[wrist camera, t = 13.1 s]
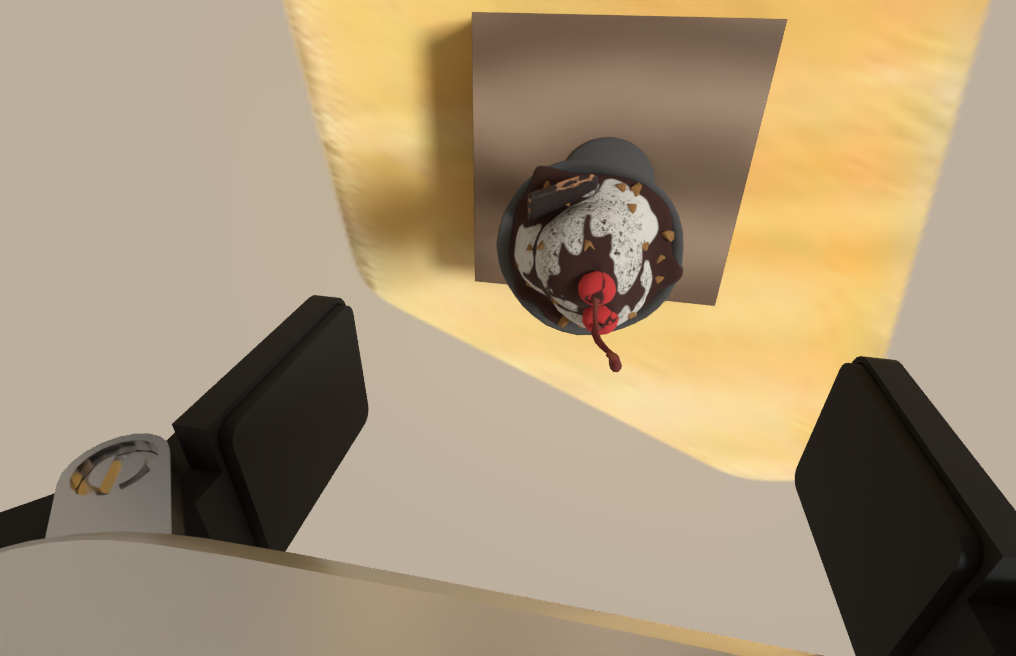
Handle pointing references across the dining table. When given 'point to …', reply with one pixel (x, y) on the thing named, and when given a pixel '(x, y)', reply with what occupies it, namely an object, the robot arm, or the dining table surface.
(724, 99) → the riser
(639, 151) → the sundae
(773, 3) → the dining table surface
